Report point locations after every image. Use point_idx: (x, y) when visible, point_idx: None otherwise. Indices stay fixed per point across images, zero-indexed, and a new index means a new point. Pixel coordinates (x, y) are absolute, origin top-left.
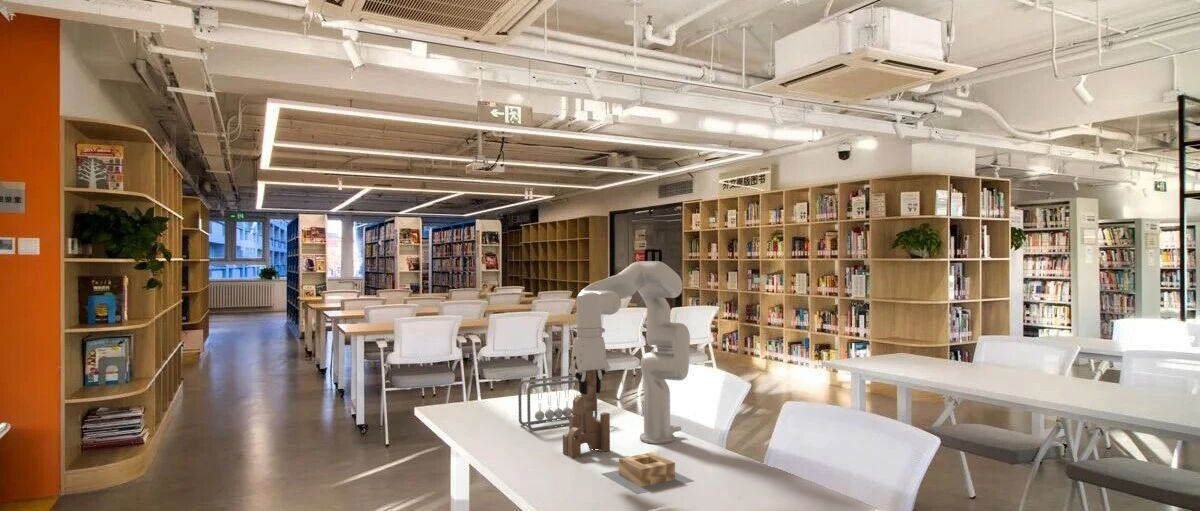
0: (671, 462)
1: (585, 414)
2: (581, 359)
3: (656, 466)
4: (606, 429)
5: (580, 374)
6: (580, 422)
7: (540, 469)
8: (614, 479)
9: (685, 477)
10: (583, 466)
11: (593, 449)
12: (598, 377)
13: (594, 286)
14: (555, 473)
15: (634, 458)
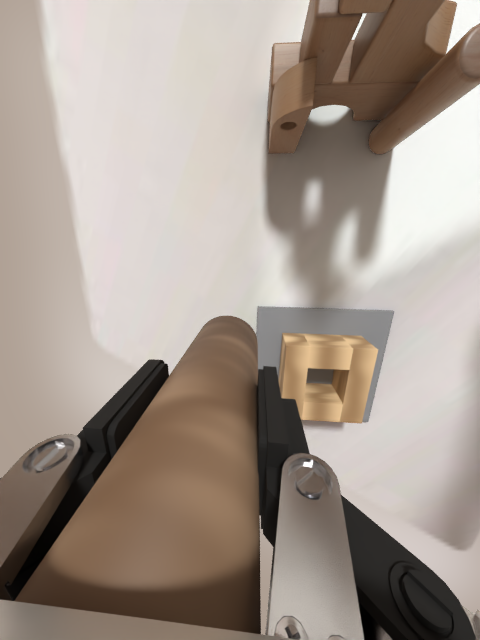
0: (356, 419)
1: (389, 12)
2: None
3: (316, 420)
4: (418, 120)
5: (11, 533)
6: (343, 47)
7: (165, 197)
8: (260, 347)
9: (370, 404)
10: (257, 234)
11: (354, 119)
12: (273, 548)
13: None
14: (184, 243)
15: (314, 363)
